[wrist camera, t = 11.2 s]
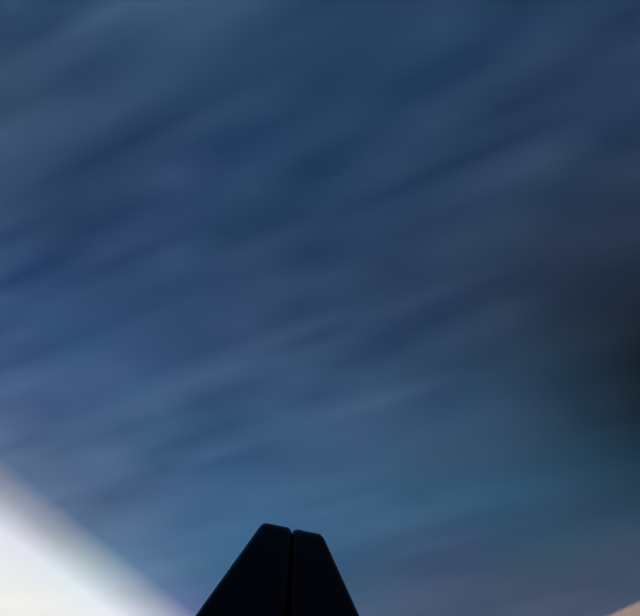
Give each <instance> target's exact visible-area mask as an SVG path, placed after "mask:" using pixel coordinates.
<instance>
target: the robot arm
mask: <svg viewBox="0 0 640 616" xmlns="http://www.w3.org/2000/svg"><path fill="white" fill-rule="evenodd" d="M196 616H359V614H358V612H357V610H356V608H355V606H354V604H353V601H352V599H351V597H350V595H349V593H348V590H347V588H346V586H345V584H344V582H343V579H342V577H341V575H340V573H339V571H338V568H337V566H336V564H335V562H334V560H333V558H332V555H331V553H330V551H329V549H328V547H327V544H326V542H325V540H324V538H323V537H322V536H321V535H320V534H317V533H312V532H307V531H302V530H294V531H293V532H292V533H291V530H290V529H289V528H287V527H283V526H278V525H273V524H268V523H265V524H262V525H261V526H260V527H259V529H258V530H257V531H256V533H255V534H254V536H253V537H252V538H251V540H250V541H249V543H248V544H247V545H246V547H245V548H244V549H243V551H242V552H241V554H240V555H239V556H238V558H237V559H236V560H235V562H234V563H233V565H232V566H231V567H230V569H229V570H228V572H227V573H226V574H225V576H224V577H223V578H222V580H221V581H220V583H219V584H218V585H217V587H216V588H215V590H214V591H213V592H212V594H211V595H210V596H209V598H208V599H207V601H206V602H205V603H204V605H203V606H202V608H201V609H200V610H199V612H198V613H197V614H196Z"/></svg>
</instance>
